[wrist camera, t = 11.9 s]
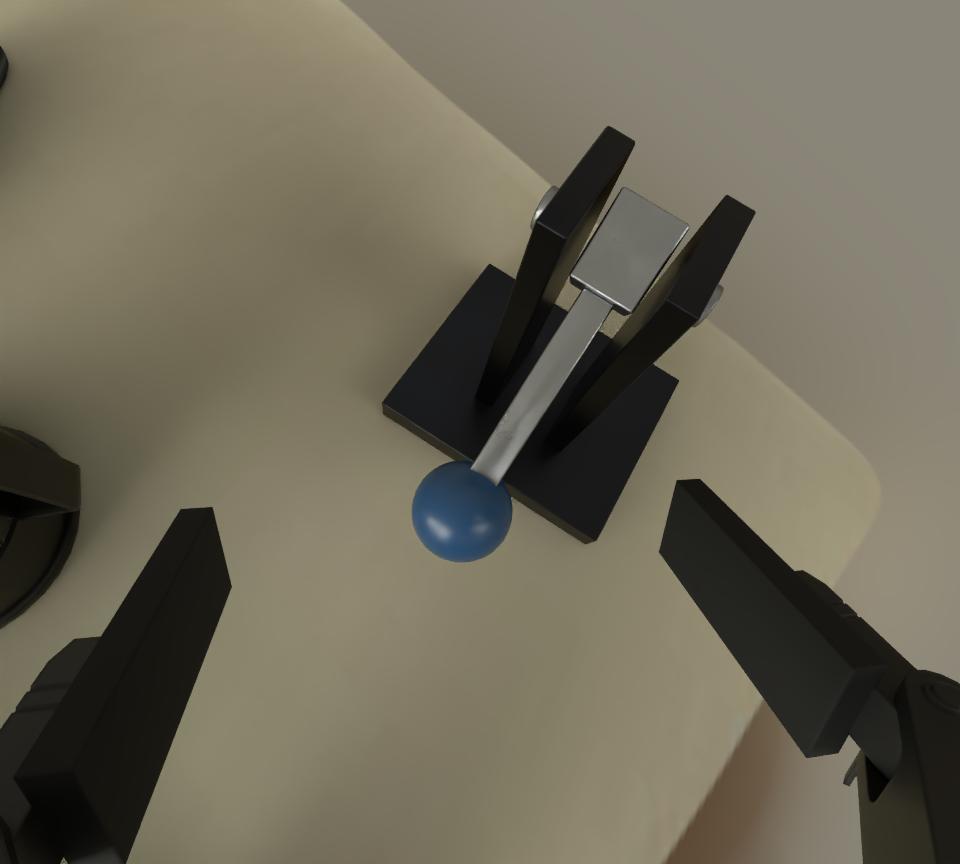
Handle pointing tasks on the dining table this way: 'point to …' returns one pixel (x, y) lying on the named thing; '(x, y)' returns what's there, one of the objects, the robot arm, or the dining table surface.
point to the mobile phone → (3, 66)
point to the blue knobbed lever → (546, 379)
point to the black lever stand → (596, 377)
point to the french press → (34, 519)
